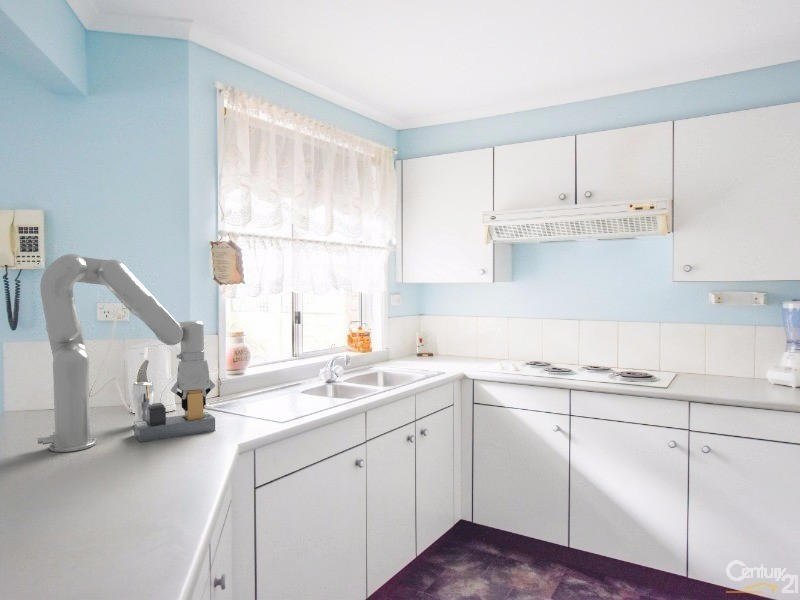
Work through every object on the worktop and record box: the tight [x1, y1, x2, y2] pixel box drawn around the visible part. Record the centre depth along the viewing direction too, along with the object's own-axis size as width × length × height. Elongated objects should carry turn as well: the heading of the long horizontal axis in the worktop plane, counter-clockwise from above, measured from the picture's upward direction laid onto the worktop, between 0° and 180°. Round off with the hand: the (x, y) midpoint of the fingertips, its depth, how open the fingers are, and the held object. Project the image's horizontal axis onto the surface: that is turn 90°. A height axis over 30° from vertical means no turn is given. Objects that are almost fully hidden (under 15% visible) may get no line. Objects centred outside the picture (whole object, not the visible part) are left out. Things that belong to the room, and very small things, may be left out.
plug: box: [184, 390, 204, 420], centre depth 193 cm, size 5×5×10 cm
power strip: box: [133, 402, 216, 443], centre depth 190 cm, size 24×10×10 cm, turn 125°
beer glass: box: [131, 381, 155, 422], centre depth 200 cm, size 7×7×15 cm
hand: (193, 408), depth 193 cm, fingers closed on plug, 5 cm apart
